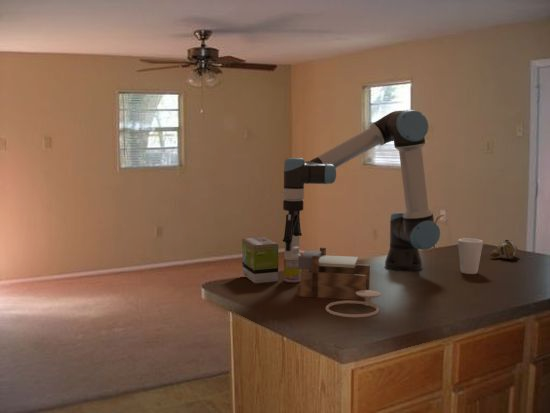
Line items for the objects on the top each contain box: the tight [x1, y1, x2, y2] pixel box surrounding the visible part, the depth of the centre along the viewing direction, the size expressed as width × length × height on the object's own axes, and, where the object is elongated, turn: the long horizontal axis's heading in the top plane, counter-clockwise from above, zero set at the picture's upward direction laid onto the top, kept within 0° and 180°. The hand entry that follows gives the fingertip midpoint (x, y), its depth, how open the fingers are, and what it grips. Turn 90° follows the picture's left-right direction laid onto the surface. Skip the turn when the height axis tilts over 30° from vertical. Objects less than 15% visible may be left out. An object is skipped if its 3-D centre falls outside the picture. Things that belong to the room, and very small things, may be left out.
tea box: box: [241, 236, 279, 284], centre depth 241 cm, size 15×10×15 cm
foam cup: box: [457, 238, 484, 275], centre depth 254 cm, size 10×9×13 cm
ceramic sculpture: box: [489, 239, 519, 260], centre depth 284 cm, size 11×9×15 cm
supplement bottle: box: [283, 246, 303, 283], centre depth 238 cm, size 7×7×13 cm
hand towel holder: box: [324, 289, 382, 318], centre depth 200 cm, size 17×4×20 cm
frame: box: [296, 247, 371, 301], centre depth 221 cm, size 23×18×14 cm
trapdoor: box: [298, 250, 359, 270], centre depth 221 cm, size 19×15×4 cm
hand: (292, 256), depth 237 cm, fingers open, 13 cm apart
